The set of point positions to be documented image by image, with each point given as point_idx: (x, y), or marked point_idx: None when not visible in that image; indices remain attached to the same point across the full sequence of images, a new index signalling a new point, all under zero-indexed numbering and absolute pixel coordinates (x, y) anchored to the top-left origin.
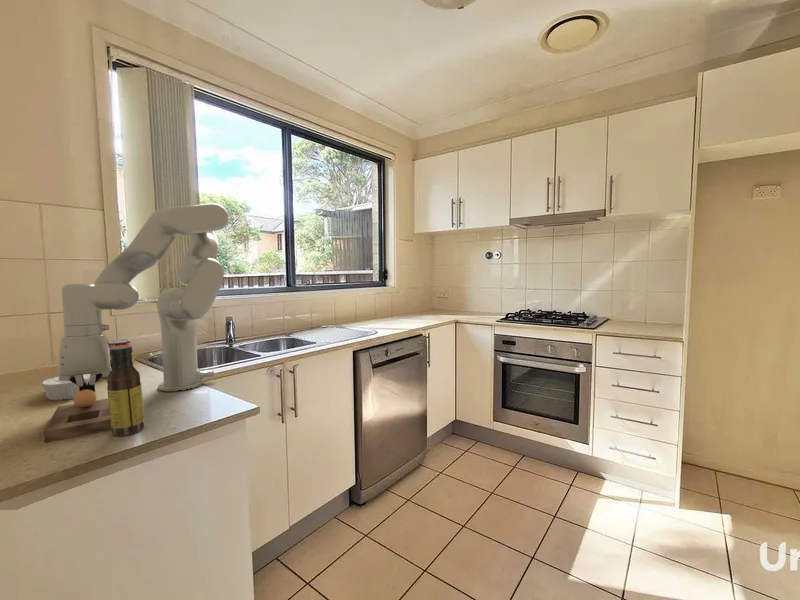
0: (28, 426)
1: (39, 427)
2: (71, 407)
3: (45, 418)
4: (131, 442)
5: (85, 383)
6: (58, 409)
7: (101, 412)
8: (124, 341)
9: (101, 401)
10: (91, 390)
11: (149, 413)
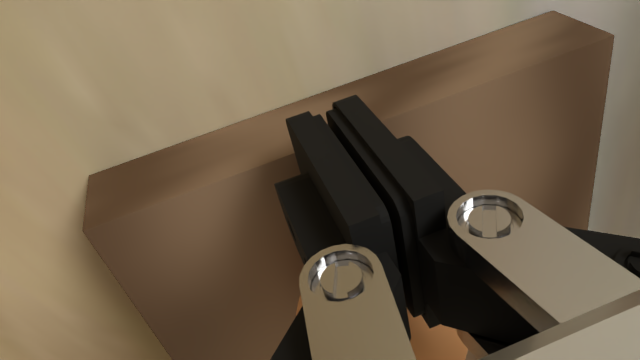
0: (12, 344)
1: (116, 357)
2: (242, 269)
3: (9, 219)
4: None
5: (401, 298)
6: (154, 303)
7: (469, 357)
8: None
9: (436, 162)
10: (461, 355)
11: (633, 229)
